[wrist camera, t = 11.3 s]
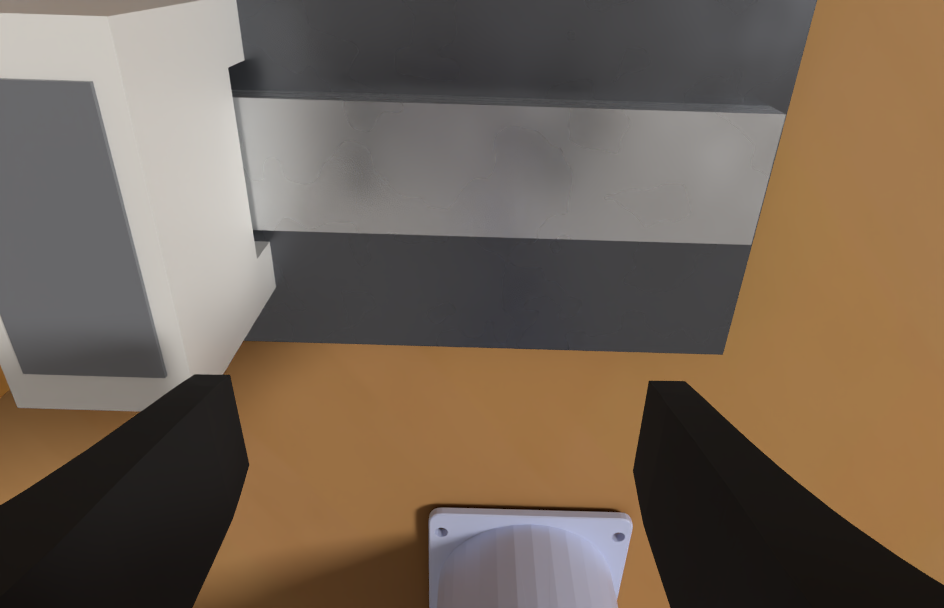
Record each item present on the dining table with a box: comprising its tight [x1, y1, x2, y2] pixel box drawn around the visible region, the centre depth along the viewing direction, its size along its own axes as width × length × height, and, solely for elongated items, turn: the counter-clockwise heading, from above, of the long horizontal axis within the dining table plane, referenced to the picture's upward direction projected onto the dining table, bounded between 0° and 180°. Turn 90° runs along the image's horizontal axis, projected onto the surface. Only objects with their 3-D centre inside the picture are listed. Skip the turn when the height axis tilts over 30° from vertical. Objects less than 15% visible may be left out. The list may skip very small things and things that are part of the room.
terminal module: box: [0, 0, 276, 411], centre depth 15 cm, size 8×4×6 cm, turn 178°
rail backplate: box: [228, 0, 817, 355], centre depth 15 cm, size 12×22×7 cm, turn 88°
